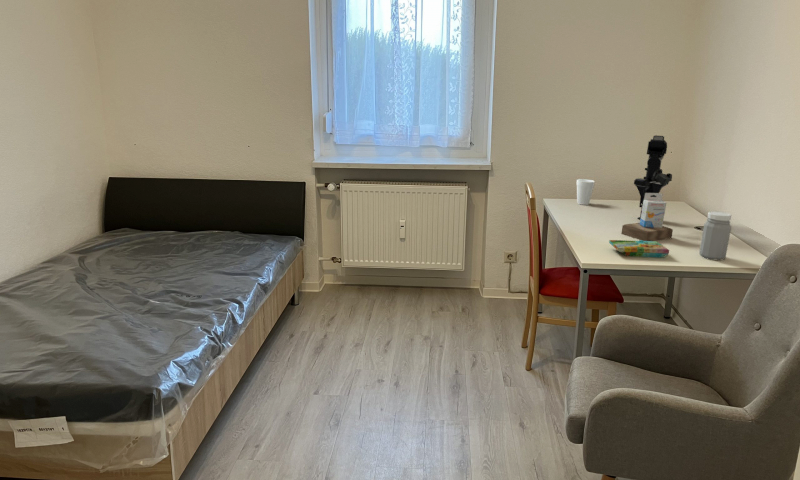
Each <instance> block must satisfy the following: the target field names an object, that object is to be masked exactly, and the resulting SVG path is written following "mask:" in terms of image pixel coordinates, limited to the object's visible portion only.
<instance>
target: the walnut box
mask: <svg viewBox="0 0 800 480" xmlns="http://www.w3.org/2000/svg"><path fill="white" fill-rule="evenodd" d="M673 231H674V229H672V228H671V227H669V226H664V225H662V228H653V227H643V226H641V225H640V222H635V223H626V224H623V225H622V226H621V235H624V236H627V237H629V238H633V239H636V240H638V241H639V240H642V241H657V242H658V241H662V240H670V238H671V239H672V238H673Z"/></svg>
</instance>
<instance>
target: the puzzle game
mask: <svg viewBox="0 0 800 480" xmlns="http://www.w3.org/2000/svg"><path fill="white" fill-rule="evenodd" d="M608 242H609V243H608V244H610V245H611V246H612V247H614V249H616V250H617V251H618V252H619V253H622V254H623V255H625V256H626V257H639V258H640V257H641V258H643V257H644V258H662V257H663V258H665V257H666V256H668V254H670V250H669V249H668V248H667V247H665V246H664V245H663V244H661V243H660V242H659V241H658V240H657V241H642V240H639V239H638V240H627V239H626V240H620V239H619V240H618V239H609V240H608Z"/></svg>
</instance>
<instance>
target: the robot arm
mask: <svg viewBox="0 0 800 480" xmlns="http://www.w3.org/2000/svg"><path fill="white" fill-rule="evenodd" d="M667 149H668V142H667V141H666V140H665V136H664V135H657V134H656V135H653V137H652V138H651V139H650V141H648V142H647V150H646V155H648V159H647V162H646V163H647V165H646V167H645V168H644V171H646V172H645V173H646V174H645V176H643V178H641V177H640V178H639V177H638V178H635V179H634V180H633V185H635V187H636V188H637V191H638V193H639V197H640V200H639V205H638V207H639V208H641V210H640V215H639V217H637V219H638V220H640V219H641V213H642V207H643V201H644V197H645V193H660V192H661V190H662V188H665V186H667V185H669V184H670V182H671V181H673V180H672V179H673V174H672V173H663V169H661V166H662V160H663V159H664V157H665V155H666V154H667ZM650 197H656V196H655V195H652V196H650Z"/></svg>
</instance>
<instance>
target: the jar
mask: <svg viewBox="0 0 800 480" xmlns="http://www.w3.org/2000/svg"><path fill="white" fill-rule="evenodd" d="M731 219H732V214H731V213H729V212H724V211H708V213H707V218H706V222H704V225H703V230H702V235H701V241H700V246H699V255H700V256H701V257H702V258H703V257H704V258H703V259H707V258H708V259H707V260H711V259H717V260H716V261H721V260H720V259H723V260H724V259H725V258H726V257H727V252H728V247H729V241H730V235H731V230H732V225H731Z"/></svg>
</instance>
